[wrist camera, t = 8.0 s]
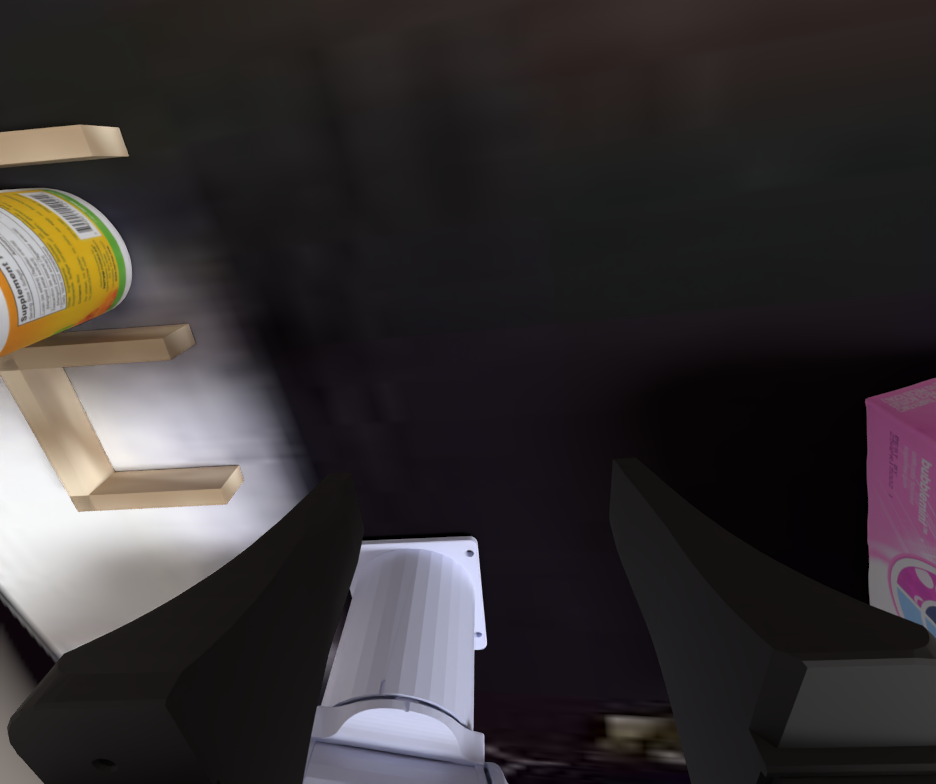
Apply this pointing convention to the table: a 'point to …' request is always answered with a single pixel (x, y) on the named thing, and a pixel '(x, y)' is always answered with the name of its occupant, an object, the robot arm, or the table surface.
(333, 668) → the robot arm
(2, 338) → the supplement bottle
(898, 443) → the gum box
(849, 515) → the table surface
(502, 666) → the table surface
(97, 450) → the e-shaped wooden frame
